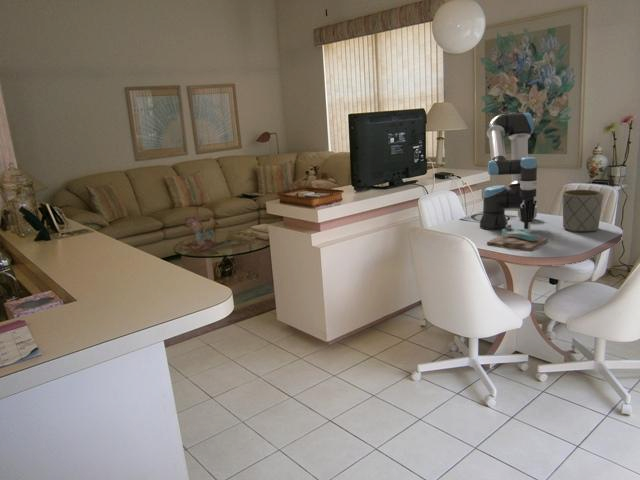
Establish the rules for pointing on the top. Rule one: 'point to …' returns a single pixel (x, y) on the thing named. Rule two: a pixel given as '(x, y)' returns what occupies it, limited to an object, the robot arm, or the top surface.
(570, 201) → the planter
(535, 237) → the latch bar
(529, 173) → the robot arm
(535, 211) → the teacup
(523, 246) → the pivot board
